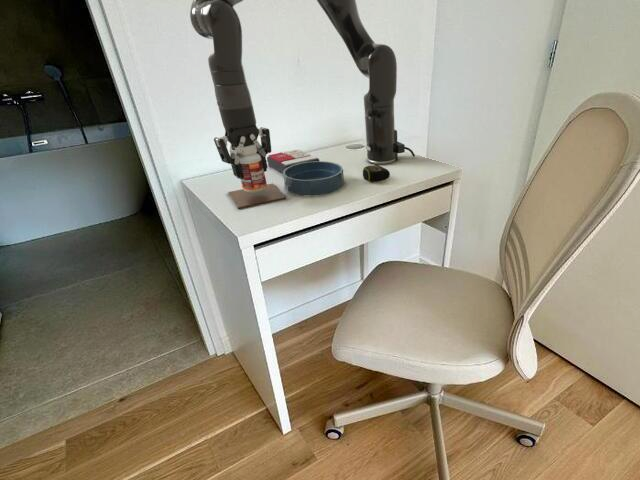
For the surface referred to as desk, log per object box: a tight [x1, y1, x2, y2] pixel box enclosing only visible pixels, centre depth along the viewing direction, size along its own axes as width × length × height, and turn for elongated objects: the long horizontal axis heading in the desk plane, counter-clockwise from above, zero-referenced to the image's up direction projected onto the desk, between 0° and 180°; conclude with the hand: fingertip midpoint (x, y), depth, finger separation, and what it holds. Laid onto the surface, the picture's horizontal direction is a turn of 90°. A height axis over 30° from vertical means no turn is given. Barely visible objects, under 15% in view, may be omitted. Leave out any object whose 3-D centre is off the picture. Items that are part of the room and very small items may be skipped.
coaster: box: [227, 182, 287, 210], centre depth 103 cm, size 12×12×1 cm
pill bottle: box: [234, 144, 268, 192], centre depth 99 cm, size 6×6×11 cm
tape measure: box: [362, 164, 391, 183], centre depth 112 cm, size 7×7×4 cm
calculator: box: [266, 149, 320, 175], centre depth 121 cm, size 11×4×15 cm
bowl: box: [282, 160, 345, 197], centre depth 108 cm, size 16×16×4 cm
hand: (252, 174), depth 100 cm, fingers closed on pill bottle, 6 cm apart
